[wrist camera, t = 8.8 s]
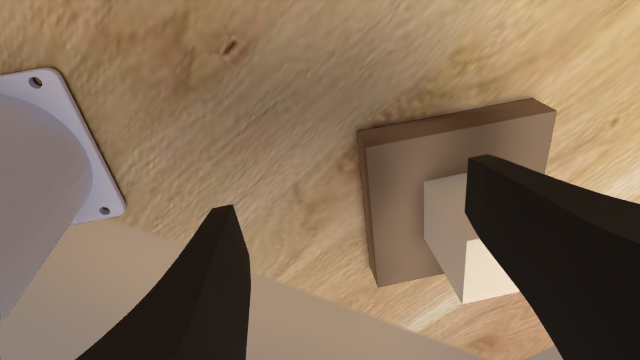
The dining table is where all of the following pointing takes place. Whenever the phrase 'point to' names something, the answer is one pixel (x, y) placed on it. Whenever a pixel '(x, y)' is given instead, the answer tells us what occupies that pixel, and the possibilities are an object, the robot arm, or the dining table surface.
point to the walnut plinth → (436, 174)
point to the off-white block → (460, 243)
